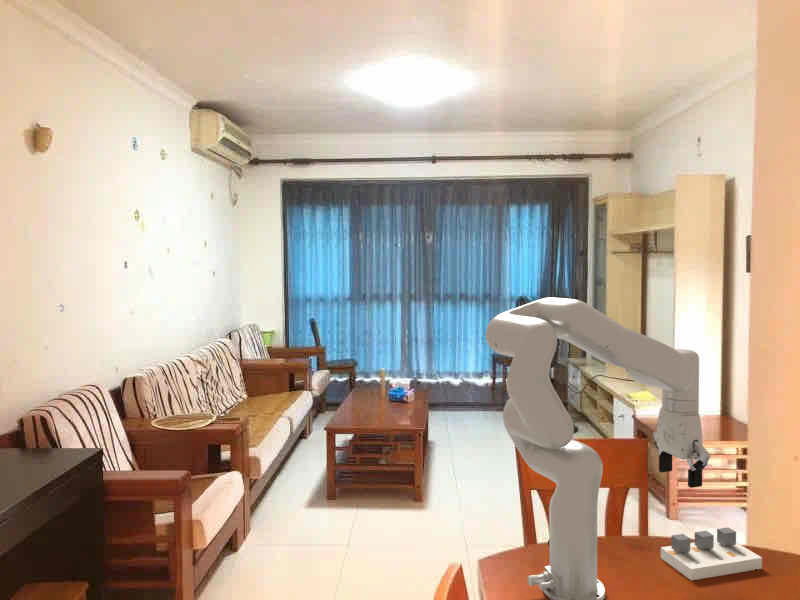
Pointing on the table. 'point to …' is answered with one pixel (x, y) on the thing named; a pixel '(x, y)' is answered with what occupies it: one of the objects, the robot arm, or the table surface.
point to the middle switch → (704, 540)
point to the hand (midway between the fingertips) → (679, 478)
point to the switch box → (712, 560)
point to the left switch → (680, 543)
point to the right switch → (726, 536)
